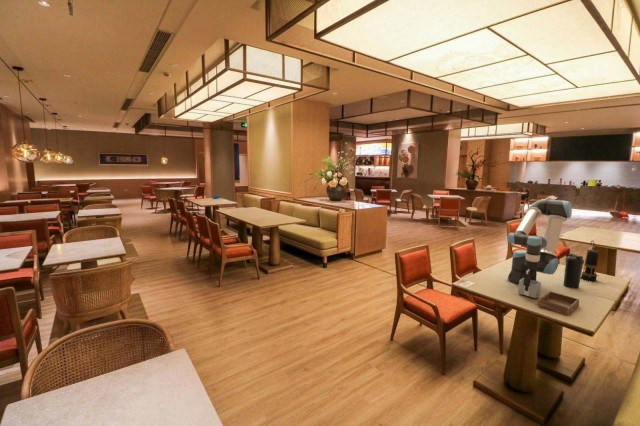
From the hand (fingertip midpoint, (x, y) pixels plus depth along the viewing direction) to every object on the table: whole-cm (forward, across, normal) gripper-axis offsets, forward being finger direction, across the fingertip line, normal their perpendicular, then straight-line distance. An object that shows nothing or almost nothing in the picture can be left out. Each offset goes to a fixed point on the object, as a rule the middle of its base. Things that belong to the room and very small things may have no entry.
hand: (528, 293), depth 205 cm
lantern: (+3, -68, +16) cm, 70 cm away
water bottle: (+3, -42, +12) cm, 44 cm away
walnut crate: (+2, +3, +17) cm, 17 cm away
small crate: (0, 0, 0) cm, 0 cm away
